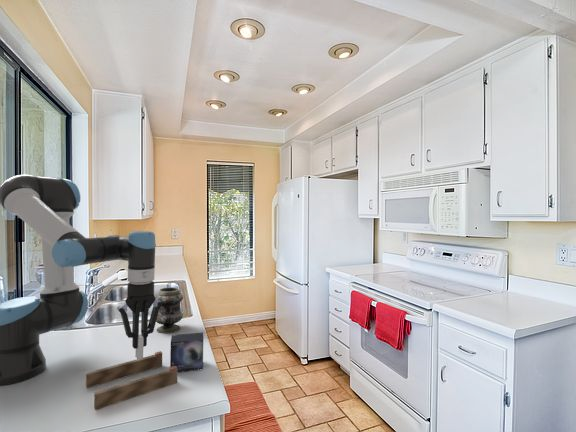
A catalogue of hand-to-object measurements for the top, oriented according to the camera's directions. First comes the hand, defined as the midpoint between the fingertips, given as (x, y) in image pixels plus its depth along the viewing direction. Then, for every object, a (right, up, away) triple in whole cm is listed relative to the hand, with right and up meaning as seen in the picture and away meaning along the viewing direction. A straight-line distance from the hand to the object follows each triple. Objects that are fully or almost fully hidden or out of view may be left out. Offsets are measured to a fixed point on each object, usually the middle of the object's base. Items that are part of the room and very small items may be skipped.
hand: (139, 357), depth 100 cm
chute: (-1, -7, -2) cm, 8 cm away
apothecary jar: (-7, -7, +44) cm, 45 cm away
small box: (+12, -8, +9) cm, 17 cm away
